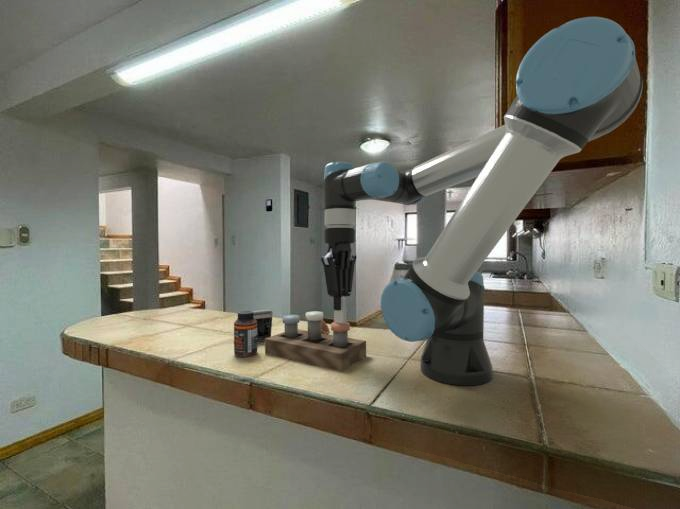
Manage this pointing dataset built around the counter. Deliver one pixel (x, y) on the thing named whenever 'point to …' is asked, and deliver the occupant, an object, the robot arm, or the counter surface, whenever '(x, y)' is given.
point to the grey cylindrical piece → (291, 325)
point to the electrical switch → (263, 323)
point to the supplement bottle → (245, 334)
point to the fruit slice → (324, 327)
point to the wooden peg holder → (316, 350)
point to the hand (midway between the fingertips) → (340, 322)
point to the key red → (340, 334)
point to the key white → (314, 324)
